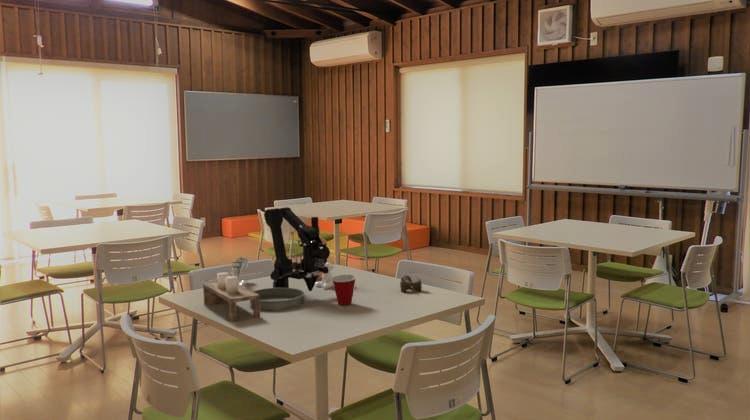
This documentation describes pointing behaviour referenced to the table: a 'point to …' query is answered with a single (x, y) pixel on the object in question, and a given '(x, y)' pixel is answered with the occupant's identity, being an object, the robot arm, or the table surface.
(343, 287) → the plastic cup
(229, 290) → the two tumblers
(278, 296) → the grey round tray
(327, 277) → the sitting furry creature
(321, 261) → the whiskey bottle
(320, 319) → the table surface
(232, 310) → the walnut counter shelf
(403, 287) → the kendama
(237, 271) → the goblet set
